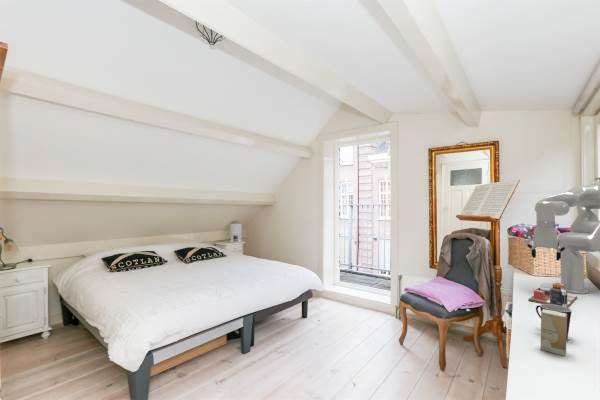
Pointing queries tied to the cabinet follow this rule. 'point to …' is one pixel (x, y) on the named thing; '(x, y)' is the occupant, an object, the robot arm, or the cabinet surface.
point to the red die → (539, 294)
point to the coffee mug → (557, 309)
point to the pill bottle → (558, 295)
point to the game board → (547, 299)
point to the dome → (545, 287)
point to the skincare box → (553, 331)
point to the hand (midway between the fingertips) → (545, 258)
